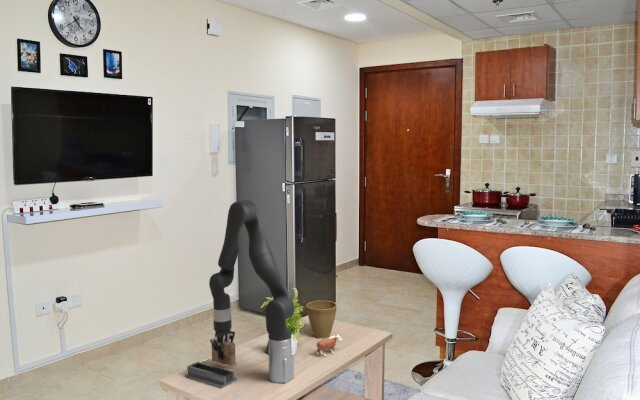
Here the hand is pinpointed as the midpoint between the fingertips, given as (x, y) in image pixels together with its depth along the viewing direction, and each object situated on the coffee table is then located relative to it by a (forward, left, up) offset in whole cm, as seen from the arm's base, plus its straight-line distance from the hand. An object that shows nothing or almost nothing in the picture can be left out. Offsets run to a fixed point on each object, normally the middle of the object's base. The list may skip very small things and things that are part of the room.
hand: (223, 357), depth 237 cm
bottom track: (-4, +12, -4) cm, 13 cm away
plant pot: (-16, -54, -4) cm, 56 cm away
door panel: (0, 0, -2) cm, 2 cm away
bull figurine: (-31, -36, -4) cm, 48 cm away
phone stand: (-10, -25, -4) cm, 27 cm away
